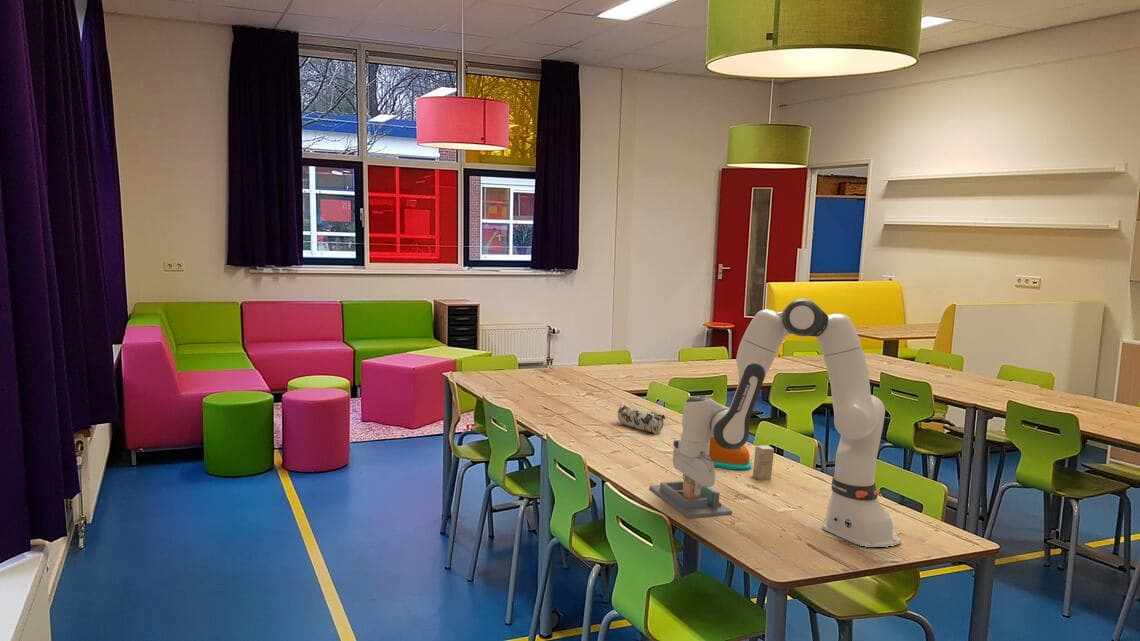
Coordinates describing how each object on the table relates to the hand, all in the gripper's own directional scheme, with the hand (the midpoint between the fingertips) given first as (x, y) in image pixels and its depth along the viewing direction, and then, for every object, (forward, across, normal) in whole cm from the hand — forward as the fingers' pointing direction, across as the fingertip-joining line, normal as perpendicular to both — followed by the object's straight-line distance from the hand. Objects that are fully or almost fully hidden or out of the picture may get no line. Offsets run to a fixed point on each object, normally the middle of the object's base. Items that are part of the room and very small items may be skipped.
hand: (691, 491), depth 240 cm
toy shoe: (+5, +36, -33) cm, 49 cm away
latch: (+3, +4, -5) cm, 7 cm away
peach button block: (+2, 0, 0) cm, 2 cm away
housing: (+5, +4, -2) cm, 6 cm away
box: (+5, +19, -38) cm, 43 cm away
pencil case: (+5, +86, -23) cm, 90 cm away
